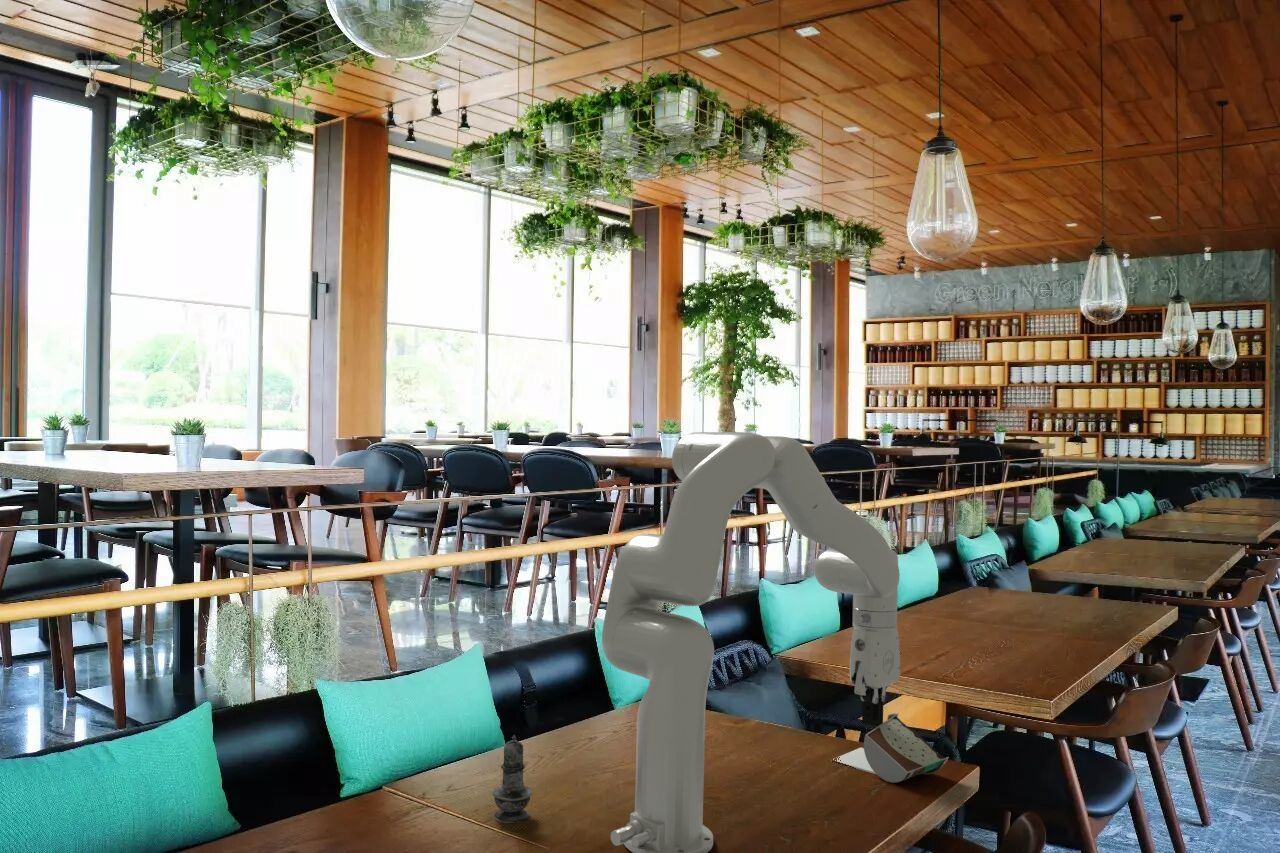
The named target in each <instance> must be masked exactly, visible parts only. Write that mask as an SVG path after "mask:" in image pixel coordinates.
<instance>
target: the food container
mask: <svg viewBox="0 0 1280 853" xmlns="http://www.w3.org/2000/svg"><path fill="white" fill-rule="evenodd" d="M898 716H899V713H890V714H888V716H887V719H886V720H885V721H883V723H882V724H881V725H879V726H878V727H876V726H875V728H873V729H872V730H870V731H869V732H867V733H865V735H864V739H863V748H864V752H865V756H866V759H867V761H868V763H869V765H870V767H871V768H872V770H873V771H874V772H875V773H876V774H877V775H876V774H875V775H876V776H878V777H879V778H880V779H882V780H883V781H885V782H889V783H891V784H895V783H901V782H902V781H903V782H904V781H906V780H908V779H911V778H914V777H916V776H919V775H932V774H935V773H937V772H938V771H940V770H941V769H942V768H943V767H944V766H945V765H946V763H947V762H948V761H949V760H948V759H949V756H947V757H943V756H942V755H941V754H940V753H939V752H938V751H936V750H935V749H934V748H933V747H932V746H931V745H930V744H929V743H928V742H927V741H926V740H925V739H924V738H923V737H922V736H921V735H920V734H918V733H917V732H916V731H915V730H913V729H912V728H910V727H909V726H908V725H907V724H906V723H904V721H902V720H901V719H900V718H899V717H898Z"/></svg>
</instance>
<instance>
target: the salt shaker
mask: <svg viewBox="0 0 1280 853" xmlns="http://www.w3.org/2000/svg"><path fill="white" fill-rule="evenodd" d="M511 739H512V740H509V741H507V742H506V743H505V744H504V747H503V763H502V764H501V765H500V768H501V769H502V781H501V785H500V786H498V787H497V788H495V789H494V790H493V791H492V797H494V802H495V806H496V807H497V808H498V809H499V810H498V811H497V812H495V813H494V815H493V819H494V818H495V819H496V820H497V821H496V820H495V819H494V820H495V821H496V822H498V821H500V822H499V823H501V822H505V823H504V824H506V823H515V824H519V823H518V822H521V823H523V822H522V821H524V822H526V821H528V820H529V819H530V816H531V815H530V812H528V811H527V810H526V809H525V808H526V807H527V806H528V804H529V803H530V800H531V796H532V795H533V790H532V789H531V788H530V787H528V786H526V785H525V783H524V770H525V769H526V764H524V745H523V744H522V742H521V741H519V740H517V737H516V735H515V734H513V736H512V737H511ZM528 818H529V819H528ZM527 819H528V820H527ZM525 820H526V821H525Z"/></svg>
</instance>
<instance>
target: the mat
mask: <svg viewBox="0 0 1280 853" xmlns="http://www.w3.org/2000/svg"><path fill="white" fill-rule="evenodd" d="M837 757H838V758H839V757H840V758H839V760H838V758H837ZM837 757H836V758H837V762H840V763H843V764H846V765H849V766H852V767H854V768H853V769H855V768H856V770H859V771H863V772H866V773H870V774H873V775H876V776H878V775H877V774H876V773H875V772H874V771H873V770H872V768H871V767H870V765H869V763H868V761H867V759H866V756H865V752H864V747H858V748H856V749H854V750H851V751H849V752H847V753H843V754H842V755H840V756H839V755H838V756H837ZM832 759H833V760H834V759H835V758H832ZM840 760H841V761H840ZM835 761H836V760H835ZM849 766H848V767H849ZM852 767H851V768H852Z"/></svg>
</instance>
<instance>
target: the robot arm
mask: <svg viewBox="0 0 1280 853" xmlns="http://www.w3.org/2000/svg"><path fill="white" fill-rule="evenodd" d="M671 465H672V469H673V471H674V474H675V475H676V477H678V479H680V481H681V483H680V484H679V486H678V487H677V489H676V490H675V492H674V495H673V497H672V499H671V500H672V501H671V503H670V506H669V507H670V508H669V511H668V516H667V520H666V523H665V527H664V530H663V534H658V533H656V534H655V533H643V534H640V535H637V536H635V537H632V539H630V540H629V541H627V542H626V544H625V545H624V547H623V548H622V549H621V551H620V553H619V554H618V557H617V559H616V561H615V565H614V569H613V573H612V579H611V583H610V589H609V593H608V598H607V599H608V600H607V605H606V609H605V614H604V620H603V625H602V631H601V646H602V651H603V654H604V657H605V658H606V661H608V662H609V664H610V665H611V666H613V667H614V668H616V669H618V670H621V671H623V672H625V673H629V674H631V675H636V676H639V677H642V678H644V679H647V680H649V683H648V687H647V689H646V691H645V693H644V694H643V696H642V699H641V701H640V702H639V704H638V708H637V709H638V710H637V714H636V749H635V750H636V751H635V752H636V754H635V785H634V786H635V792H634V793H635V794H634V811H633V812H631V813H630V814H629V822H627V823H626V825H625V826H622V827H620V828H617V829H615V830H613V831H611V833H610V840H611V842H612V844H613V846H617V847H618V846H621V845H624V847H625V848H626V849H627V850H629V851H630V852H631V853H708V852H710V851H711V850H712V848H713V847H714V835H713V832H712V831H711V830H710V829H709V828H708V827H707V826H705V825H704V824H703V818H704V780H705V778H704V777H705V776H704V774H705V742H706V741H705V740H706V739H705V737H706V736H705V733H706V732H705V730H706V729H705V728H706V705H707V704H706V703H707V693H708V687H709V681H710V677H711V673H712V667H713V663H714V660H715V659H714V657H715V645H714V641H713V637H712V635H711V634H710V632H709V630H708V629H707V628H706V627H705V626H703V625H702V624H701V623H700V622H699V621H697V620H695V619H693V618H691V617H687V616H683V615H680V614H676V613H670V612H666V611H660V610H659V607H660V604H661V602H663V603H666V604H671V605H678V606H684V607H697V606H701V605H704V604H705V603H706V602H708V601H709V600H710V598H711V597H712V595H713V592H714V590H715V587H716V583H717V582H716V581H717V577H718V574H719V573H718V572H719V567H720V562H721V558H722V551H723V547H724V540H725V536H726V535H725V534H726V530H727V526H728V521H729V518H730V515H731V513H732V510H734V507H735V506H736V504H737V503H738V501H739V500H740V499H741V498H742V497H743V496H744V495H745V494H747V493H748V492H749V491H751V490H752V489H762V490H766V491H767V492H768V493H769V494H770V495H771V497H772V499H773V500H774V501H775V504H777V506H778V508H779V510H780V511H781V513H782V514H783V516H784V517H785V519H786V521H787V523H788V524H789V525H790V527H791V528H792V529H793V530H794V531H795V532H796V533H798V534H799V535H801V536H802V537H805V538H806V539H809V540H810V541H813V542H815V543H817V544H819V545H821V546H822V545H823V546H824V547H827V548H829V549H826V550H825V551H823V552H822V553H821V554H819V556H818V557H817V559H816V560H815V563H814V576H815V579H816V581H817V582H818V584H819V585H820V586H821V587H822V588H824V589H826V590H828V591H831V592H833V593H834V592H835V593H840V594H846V595H847V594H848V595H853V596H852V627H853V628H852V636H851V643H850V644H851V646H850V654H849V656H850V657H849V680H850V683H851V684H853V685H854V691H853V692H854V694H855V695H859V696H860V700H861V701H862V703H861V704H862V706H861V707H862V708H861V712H862V713H861V722H862V723H863V724H865V725H868V726H872V727H875V728H876V727H878V726H879V725H881V724H882V723H884V702H885V700H886V691H887V689H888V688H889V687H890V686H891V685H893V684H894V683H895V684H896V683H897V681H899V680H900V678H901V655H900V654H901V652H900V640H899V639H900V638H899V631H898V625H897V624H898V623H897V622H898V587H899V583H900V577H901V576H900V575H901V573H900V568H899V567H900V566H899V557H898V554H897V552H896V551H895V550H894V549H891V547H890V546H889V544H888V542H887V540H886V539H885V538H884V536H883V534H882V533H880V532H879V530H878V529H877V528H875V526H874V525H872V524H871V523H870V522H868V521H867V520H866V519H864V518H863V517H862V516H860V515H859V514H857V513H856V512H854V511H853V510H852V509H850V508H849V507H848V506H846V505H844V504H843V503H842V502H840V501H839V500H837V499H836V497H835V495H834V494H833V492H832V490H831V489H830V487H829V486H828V484H827V482H826V480H825V479H824V477H823V475H822V474H821V472H820V471H819V468H818V467H817V466H816V463H815V461H814V460H813V458H812V457H811V455H810V453H809V452H808V450H807V449H806V447H805V446H804V444H802V443H801V442H800V441H799V440H797V439H795V438H792V437H788V436H778V435H773V436H771V435H767V436H766V435H761V434H757V433H753V432H743V431H741V432H739V431H724V432H723V431H722V432H721V431H719V432H717V431H716V432H715V431H710V432H708V431H699V432H697V431H696V432H695V431H694V432H691V433H687V434H686V435H684V436H682V437H681V438H680V439H679V440H678V441H677V442H676V444H675V446H674V448H673V451H672V455H671Z"/></svg>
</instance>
